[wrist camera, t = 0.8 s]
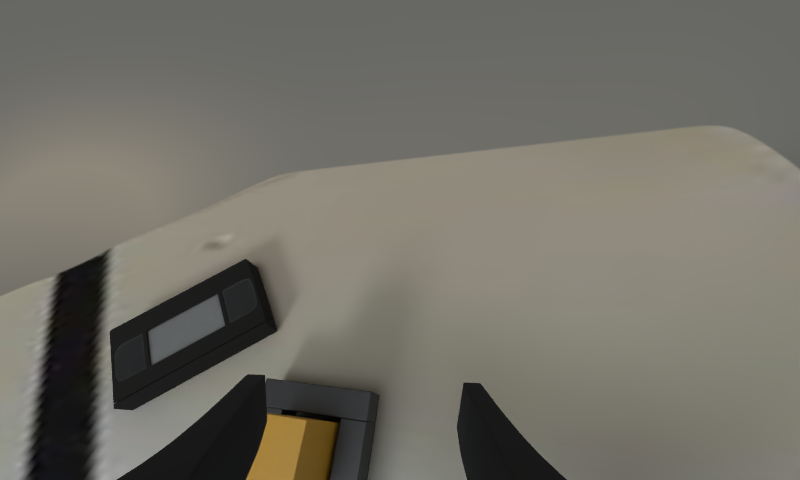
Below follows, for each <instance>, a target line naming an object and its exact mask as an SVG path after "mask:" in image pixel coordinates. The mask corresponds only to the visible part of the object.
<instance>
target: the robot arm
mask: <svg viewBox="0 0 800 480" xmlns="http://www.w3.org/2000/svg"><path fill="white" fill-rule="evenodd" d="M266 424H267V405H266V386H265V375H246V376H245V377H244V378H243V379H242V380H241V381H240V382H239V383H238V384H237V385H236V386H235V387H234V388H233V389H231V390H230V391H229V392H228V393H227V394H226V395H225V396H224V397H223V398H222V399H221V400H220V401H219V402H218V403H217V404H216V405H214V406H213V407H212V408H211V409H210V410H209V411H208V412H207V413H206V414H204V415H203V416H202V417H201V418H200V419H199V420H198V421H197V422H195V423H194V424H193V425H192V426H191V427H189V428H188V429H187V430H186V431H185V432H183V433H182V434H181V435H180V436H179V437H177V438H176V439H175V440H174V441H172V442H171V443H170V444H168V445H167V446H166V447H164V448H163V449H162V450H160V451H159V452H158V453H156V454H155V455H153V456H152V457H151V458H149V459H148V460H146V461H145V462H143V463H142V464H141V465H139V466H137V467H136V468H134V469H133V470H131V471H130V472H128V473H126V474H125V475H123V476H122V477H120V478H119V479H117V480H246V478H247V476H248V474H249V471H250V469H251V467H252V464H253V462H254V460H255V457H256V455H257V452H258V450H259V447H260V444H261V440H262V437H263V434H264V430H265V427H266ZM457 431H458V438H459V445H460V451H461V457H462V461H463V465H464V469H465V473H466V477H467V480H567V479H565V478H564V477H563V476H562V475H561V474H560V473H559V472H558V471H557V470H555V469H554V468H553V467H552V466H551V465H550V464H549V463H548V462H547V461H546V460H545V459H544V458H543V457H542V456H541V455H540V454H539V453H538V452H537V451H536V450H535V449H534V448H533V447H532V446H531V445H530V444H529V443H528V442H527V441H526V439H525V438H524V437H523V436H522V435H521V434H520V433H519V431H518V430H517V429H516V428H515V427H514V426H513V424H512V423H511V422H510V421H509V420H508V418H507V417H506V416H505V415H504V413H503V412H502V411H501V410H500V408H499V407H498V406H497V405H496V403H495V402H494V401H493V399H492V398H491V397H490V395H489V394H488V393H487V391H486V390H485V389H484V387H483V386H482V385H481V384H480V383H464V384H463V391H462V397H461V404H460V410H459V417H458V423H457Z"/></svg>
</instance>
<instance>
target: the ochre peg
mask: <svg viewBox="0 0 800 480" xmlns="http://www.w3.org/2000/svg"><path fill="white" fill-rule="evenodd" d="M339 427H340V422H333V421H327V420H320V419H313V418H307V417H300V416H291V415H282V414H273V413H267V424H266V427H265V430H264V434H263V437H262V440H261V444H260V447H259V450H258V452H257V455H256V457H255V460H254V462H253V464H252V467H251V469H250V471H249V474H248V476H247V478H246V480H330V476H331V470H332V465H333V459H334V454H335V448H336V443H337V437H338V432H339Z"/></svg>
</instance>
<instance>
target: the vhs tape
mask: <svg viewBox="0 0 800 480" xmlns="http://www.w3.org/2000/svg"><path fill="white" fill-rule="evenodd" d="M276 331H277V328H276V325H275V322H274V318H273V315H272V311H271V308H270V305H269V302H268V299H267V296H266V292H265V289H264V286H263V283H262V280H261V277H260V274H259V271H258V268H257V267H256V266H255V265H253V264H252V263H251V262H249V261H248V260H247V259H245V260H243V261H241V262H239V263H237V264H235V265H233V266H231V267H229V268H228V269H226V270H224V271H222V272H220V273H218V274H216V275H214V276H212V277H211V278H209V279H207V280H205V281H203V282H201V283H199V284H197V285H195V286H194V287H192V288H190V289H188V290H186V291H184V292H182V293H180V294H178V295H177V296H175V297H173V298H171V299H169V300H167V301H165V302H163V303H161V304H160V305H158V306H156V307H154V308H152V309H150V310H148V311H146V312H144V313H143V314H141V315H139V316H137V317H135V318H133V319H131V320H129V321H127V322H126V323H124V324H122V325H120V326H118V327H116V328H114V329H112V330H111V331H110V345H111V363H112V381H113V400H114V403H115V404H114V409H124V410H134V409H135V408H137V407H139V406H141V405H143V404H144V403H146V402H148V401H150V400H152V399H154V398H155V397H157V396H159V395H161V394H163V393H165V392H166V391H168V390H170V389H172V388H174V387H176V386H177V385H179V384H181V383H183V382H185V381H187V380H188V379H190V378H192V377H194V376H196V375H198V374H199V373H201V372H203V371H205V370H207V369H209V368H210V367H212V366H214V365H216V364H218V363H220V362H221V361H223V360H225V359H227V358H229V357H231V356H232V355H234V354H236V353H238V352H240V351H241V350H243V349H245V348H247V347H249V346H251V345H252V344H254V343H256V342H258V341H260V340H262V339H263V338H265V337H267V336H269V335H271V334H273V333H274V332H276Z"/></svg>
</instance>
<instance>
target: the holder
mask: <svg viewBox="0 0 800 480" xmlns="http://www.w3.org/2000/svg"><path fill="white" fill-rule="evenodd" d="M265 386H266V405H267V413H273V414H282V415H291V416H295V415H296V411H299V412H305V413H312V414H319V415H325V416H332V417H339V418H341V421H340V427H339V432H338V437H337V443H336V448H335V454H334V459H333V465H332V470H331V476H330V480H367V477H368V470H369V463H370V456H371V449H372V442H373V435H374V429H375V422H376V415H377V408H378V401H379V395H378V394H375V393H373V392H370V391H362V390H354V389H346V388H339V387H331V386H323V385H315V384H307V383H300V382H292V381H284V380H276V379H267V380H266V384H265Z"/></svg>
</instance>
